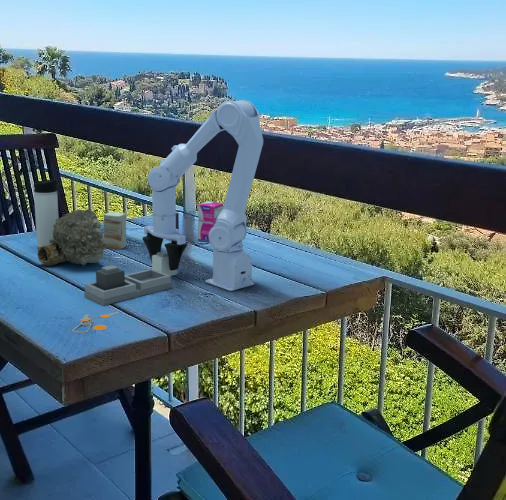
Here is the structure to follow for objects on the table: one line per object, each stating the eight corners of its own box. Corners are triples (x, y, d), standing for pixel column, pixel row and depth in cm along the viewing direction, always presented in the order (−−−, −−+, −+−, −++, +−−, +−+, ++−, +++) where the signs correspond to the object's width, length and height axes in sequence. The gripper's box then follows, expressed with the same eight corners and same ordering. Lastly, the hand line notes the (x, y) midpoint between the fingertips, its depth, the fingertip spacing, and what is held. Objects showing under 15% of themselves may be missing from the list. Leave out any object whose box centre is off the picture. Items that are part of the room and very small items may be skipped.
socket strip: (172, 287, 162) (172, 275, 161) (103, 305, 149) (103, 292, 148) (152, 280, 167) (151, 268, 166) (84, 296, 154) (83, 284, 153)
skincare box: (103, 248, 195) (102, 214, 192) (111, 244, 199) (110, 211, 196) (119, 250, 193) (118, 215, 191) (127, 246, 197) (126, 212, 195)
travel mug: (57, 251, 190) (53, 181, 185) (34, 251, 190) (29, 180, 185) (64, 246, 196) (60, 177, 191) (41, 245, 196) (37, 177, 191)
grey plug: (177, 274, 172) (177, 252, 171) (161, 278, 169) (161, 255, 168) (167, 270, 175) (167, 249, 174) (152, 274, 172) (151, 252, 170)
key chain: (101, 336, 133) (101, 332, 133) (66, 333, 134) (65, 329, 134) (122, 313, 145) (122, 309, 145) (89, 311, 146) (89, 307, 146)
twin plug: (125, 291, 154) (124, 267, 153) (106, 296, 151) (105, 271, 149) (115, 287, 157) (114, 263, 156) (96, 291, 154) (95, 267, 152)
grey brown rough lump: (106, 199, 178) (50, 193, 170) (114, 247, 172) (55, 243, 163) (84, 234, 191) (30, 230, 183) (90, 279, 185) (35, 278, 177)
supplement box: (197, 240, 206) (197, 203, 203) (207, 236, 211) (207, 200, 208) (213, 243, 203) (213, 206, 200) (223, 239, 208) (223, 202, 205)
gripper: (195, 216, 166) (195, 269, 169) (159, 207, 176) (160, 257, 179) (172, 220, 161) (172, 275, 165) (137, 210, 171) (138, 262, 174)
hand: (164, 266), depth 172 cm, fingers open, 7 cm apart
